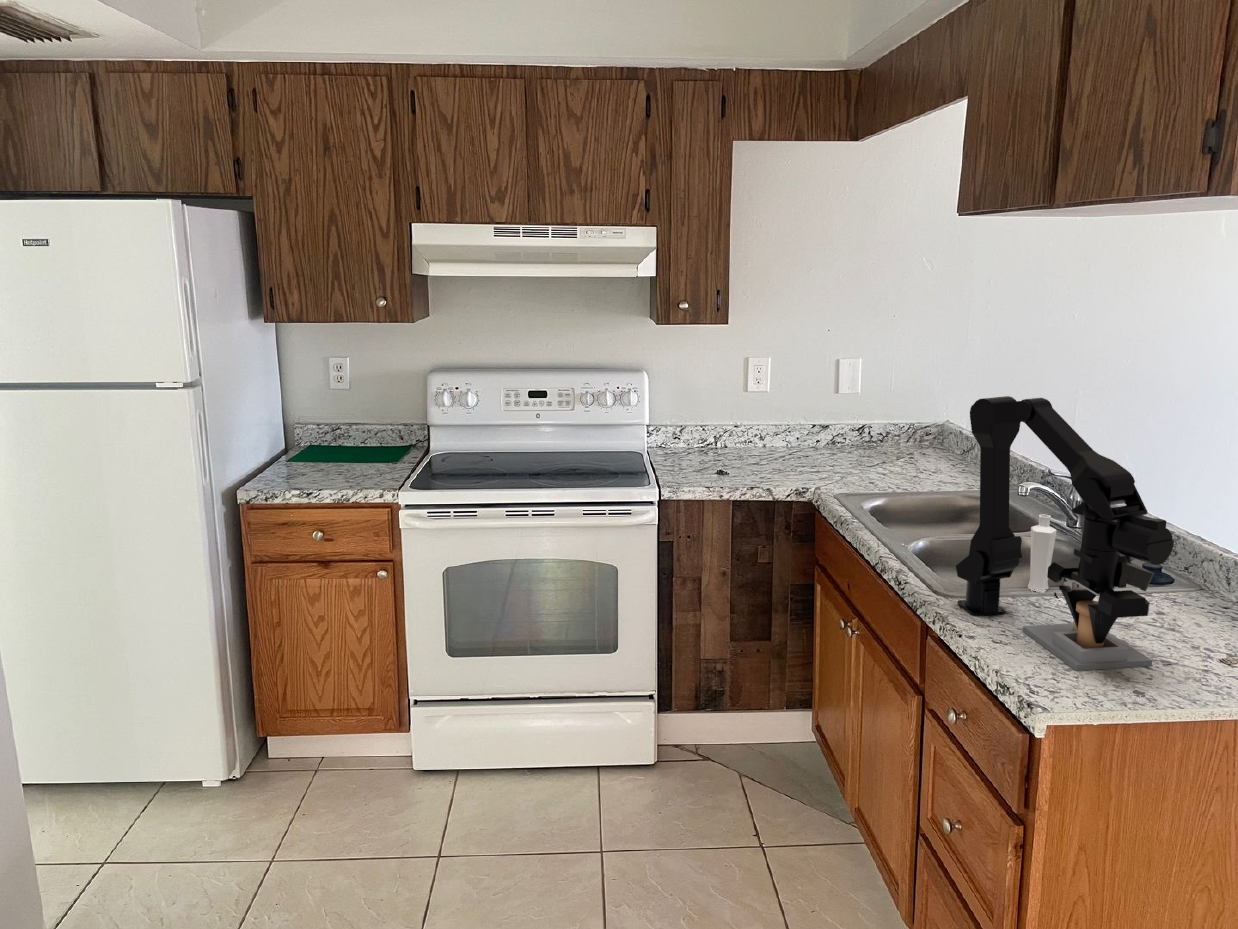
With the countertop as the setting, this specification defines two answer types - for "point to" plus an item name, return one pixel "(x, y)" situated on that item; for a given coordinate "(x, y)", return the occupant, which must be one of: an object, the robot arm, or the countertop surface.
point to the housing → (1065, 648)
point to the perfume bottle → (1041, 553)
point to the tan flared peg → (1086, 626)
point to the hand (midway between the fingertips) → (1090, 637)
